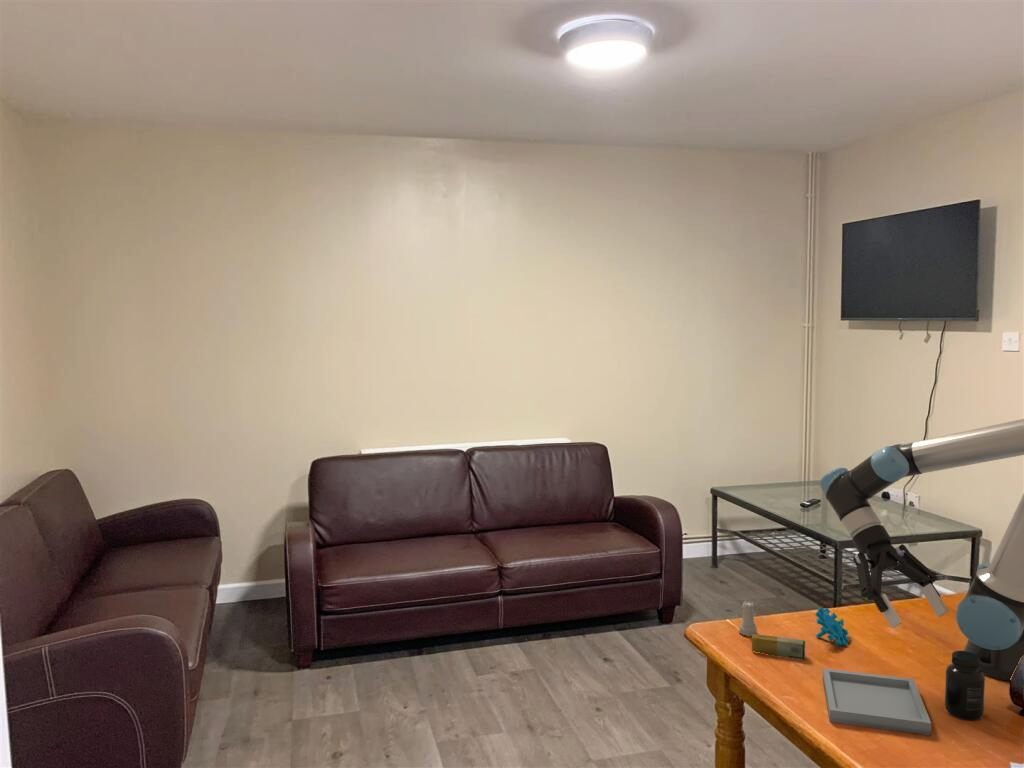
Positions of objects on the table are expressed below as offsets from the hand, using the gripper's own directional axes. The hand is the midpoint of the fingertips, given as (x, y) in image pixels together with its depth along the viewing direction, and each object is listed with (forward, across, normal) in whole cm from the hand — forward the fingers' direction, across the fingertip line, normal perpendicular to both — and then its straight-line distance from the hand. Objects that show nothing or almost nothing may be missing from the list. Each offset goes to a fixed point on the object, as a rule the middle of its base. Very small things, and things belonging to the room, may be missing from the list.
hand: (920, 619), depth 166 cm
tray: (+12, +14, -10) cm, 21 cm away
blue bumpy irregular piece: (-7, -1, -29) cm, 29 cm away
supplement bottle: (+18, 0, -3) cm, 19 cm away
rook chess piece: (-15, +15, -37) cm, 43 cm away
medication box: (-6, +16, -29) cm, 33 cm away
